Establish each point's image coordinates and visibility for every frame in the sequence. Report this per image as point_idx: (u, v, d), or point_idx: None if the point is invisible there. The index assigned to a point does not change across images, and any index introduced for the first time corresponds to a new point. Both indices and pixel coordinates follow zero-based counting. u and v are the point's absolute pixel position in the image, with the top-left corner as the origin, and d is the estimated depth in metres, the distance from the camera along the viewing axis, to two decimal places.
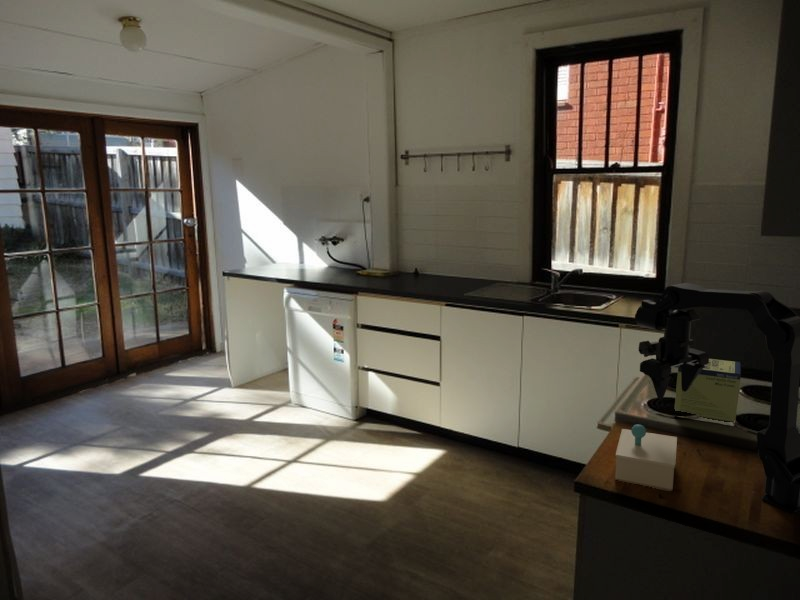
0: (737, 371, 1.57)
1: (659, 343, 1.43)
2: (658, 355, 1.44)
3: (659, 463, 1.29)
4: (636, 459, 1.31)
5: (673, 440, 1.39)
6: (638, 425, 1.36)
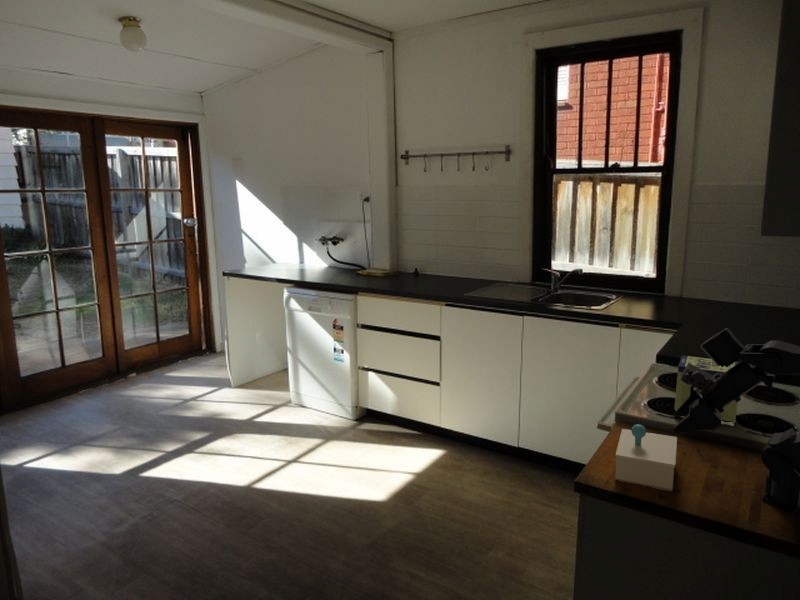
0: None
1: (715, 383, 1.25)
2: (704, 393, 1.26)
3: (659, 463, 1.29)
4: (636, 459, 1.31)
5: (673, 440, 1.39)
6: (638, 425, 1.36)
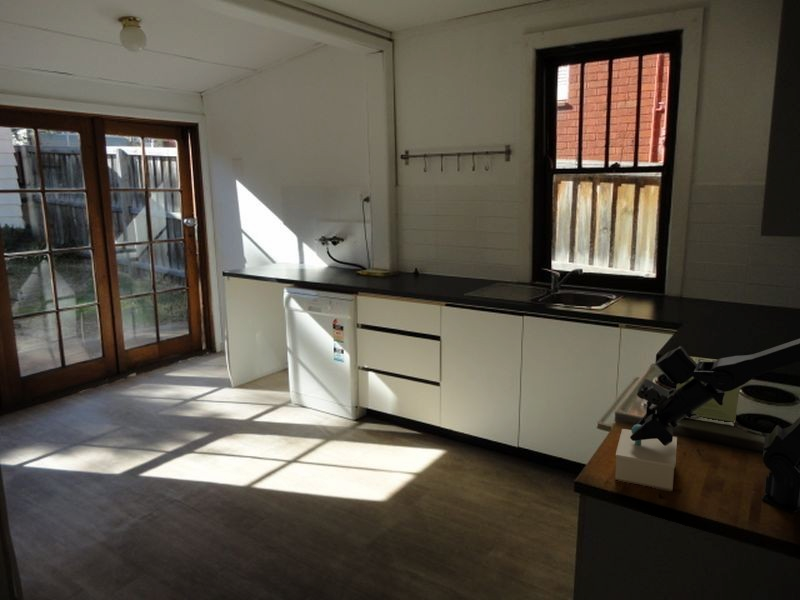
0: None
1: (668, 399, 1.30)
2: (658, 408, 1.31)
3: (659, 463, 1.29)
4: (636, 459, 1.31)
5: (673, 440, 1.39)
6: (638, 425, 1.36)
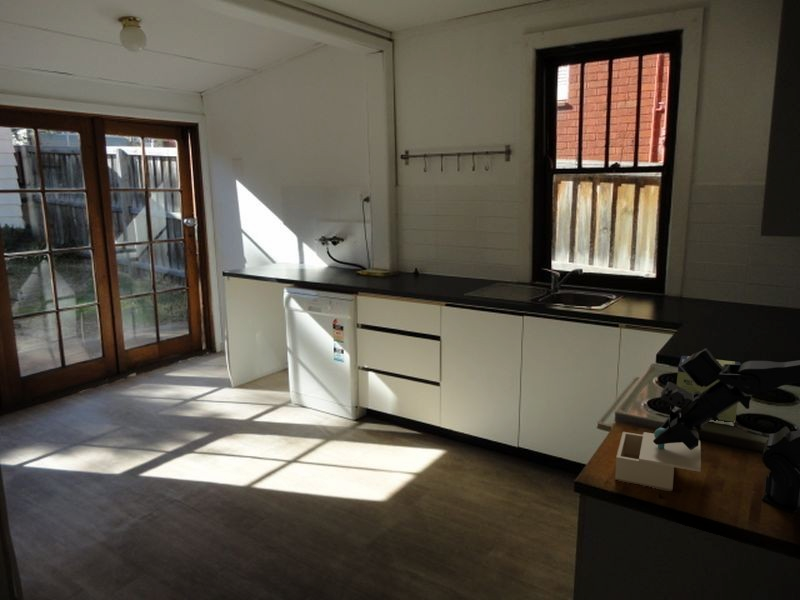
0: None
1: (693, 402, 1.28)
2: (683, 411, 1.29)
3: (684, 467, 1.27)
4: (660, 463, 1.29)
5: None
6: (661, 429, 1.34)
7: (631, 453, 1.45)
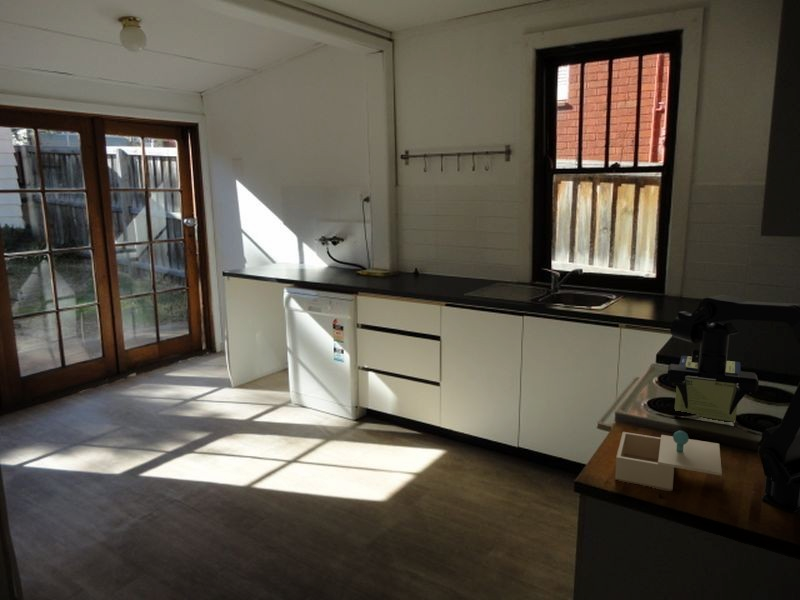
0: (737, 371, 1.57)
1: None
2: None
3: (705, 471, 1.25)
4: (680, 467, 1.27)
5: (716, 447, 1.35)
6: (680, 431, 1.32)
7: (631, 453, 1.45)
